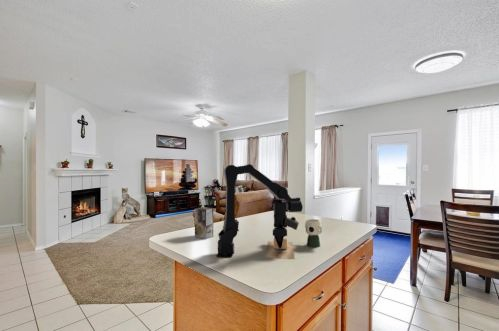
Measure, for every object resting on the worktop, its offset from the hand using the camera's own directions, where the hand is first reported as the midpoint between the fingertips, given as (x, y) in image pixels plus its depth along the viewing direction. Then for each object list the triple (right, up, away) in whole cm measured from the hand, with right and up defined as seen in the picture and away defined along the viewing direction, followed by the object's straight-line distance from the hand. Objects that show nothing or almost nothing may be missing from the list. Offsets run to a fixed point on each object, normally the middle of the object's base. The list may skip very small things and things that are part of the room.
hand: (280, 246), depth 105 cm
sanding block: (0, -1, 0) cm, 0 cm away
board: (0, -2, -2) cm, 3 cm away
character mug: (+17, -2, +4) cm, 17 cm away
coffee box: (-40, -3, +23) cm, 46 cm away
